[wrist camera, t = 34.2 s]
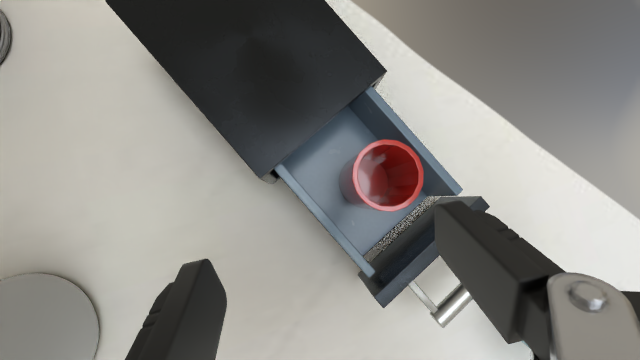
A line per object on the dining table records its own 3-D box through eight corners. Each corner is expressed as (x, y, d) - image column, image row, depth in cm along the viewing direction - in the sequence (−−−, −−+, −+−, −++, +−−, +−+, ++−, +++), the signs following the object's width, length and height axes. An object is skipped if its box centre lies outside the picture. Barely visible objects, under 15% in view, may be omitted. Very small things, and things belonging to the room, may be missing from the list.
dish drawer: (482, 244, 30) (535, 257, 23) (400, 324, 29) (431, 363, 22) (342, 85, 30) (354, 52, 23) (255, 158, 29) (241, 145, 22)
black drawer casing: (363, 106, 31) (387, 70, 22) (272, 184, 30) (259, 178, 21) (256, -16, 31) (239, -97, 23) (161, 57, 30) (104, 0, 21)
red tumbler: (362, 218, 28) (385, 226, 20) (327, 179, 28) (337, 171, 20) (400, 184, 29) (438, 179, 21) (366, 145, 29) (391, 125, 21)
